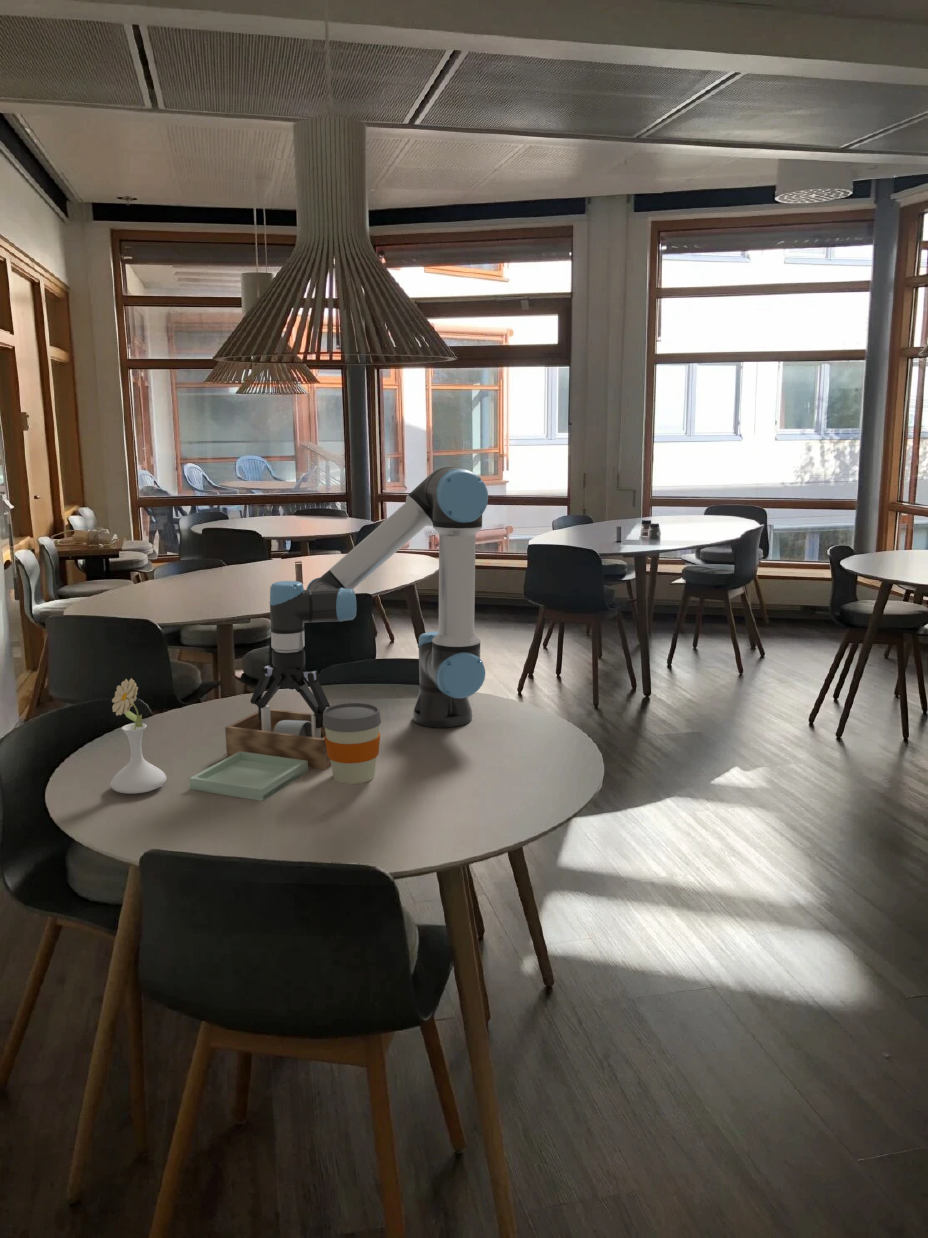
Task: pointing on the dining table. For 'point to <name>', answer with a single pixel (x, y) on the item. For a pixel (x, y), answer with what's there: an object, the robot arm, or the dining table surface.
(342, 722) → the reusable coffee cup
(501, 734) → the dining table surface
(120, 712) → the flower in vase
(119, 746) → the dining table surface
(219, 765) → the sage tray
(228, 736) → the walnut box frame
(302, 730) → the ceramic mug
